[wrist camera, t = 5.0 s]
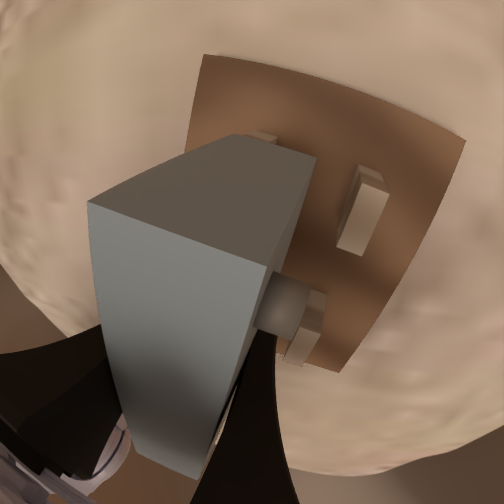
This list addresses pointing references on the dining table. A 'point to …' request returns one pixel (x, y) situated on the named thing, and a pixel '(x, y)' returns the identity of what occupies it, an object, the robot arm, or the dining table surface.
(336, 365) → the cabinet base
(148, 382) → the grey block
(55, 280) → the dining table surface
